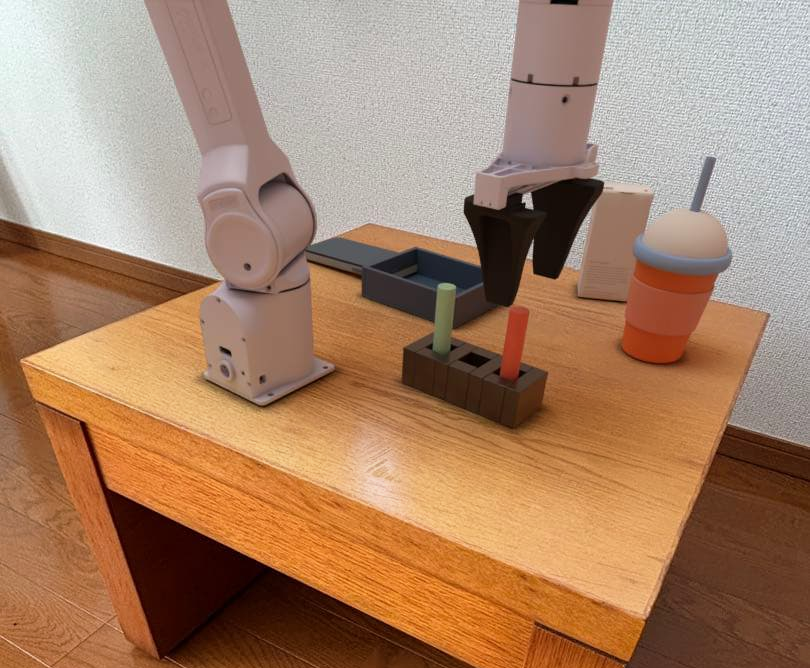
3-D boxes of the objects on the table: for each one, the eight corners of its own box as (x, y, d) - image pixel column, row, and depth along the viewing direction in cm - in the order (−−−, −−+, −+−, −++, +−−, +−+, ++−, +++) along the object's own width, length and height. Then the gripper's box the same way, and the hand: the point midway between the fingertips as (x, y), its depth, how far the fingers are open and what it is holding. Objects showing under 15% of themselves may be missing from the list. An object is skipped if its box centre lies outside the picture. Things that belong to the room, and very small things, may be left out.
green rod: (440, 387, 61) (449, 291, 55) (426, 382, 62) (433, 286, 56) (450, 381, 62) (459, 286, 56) (436, 376, 63) (444, 281, 57)
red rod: (506, 414, 58) (523, 315, 52) (491, 408, 59) (506, 309, 53) (515, 407, 59) (533, 309, 53) (500, 401, 59) (516, 304, 54)
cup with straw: (700, 376, 65) (777, 174, 53) (608, 364, 66) (662, 163, 54) (689, 338, 72) (755, 152, 60) (605, 328, 73) (653, 142, 61)
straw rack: (541, 407, 59) (548, 371, 57) (513, 429, 56) (519, 392, 54) (432, 364, 64) (435, 330, 62) (401, 382, 61) (403, 347, 59)
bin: (502, 302, 77) (506, 273, 75) (453, 329, 71) (456, 297, 69) (413, 274, 83) (415, 246, 81) (361, 296, 77) (361, 266, 74)
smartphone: (337, 235, 89) (426, 258, 82) (337, 248, 90) (425, 272, 83) (297, 247, 84) (389, 273, 77) (298, 261, 85) (388, 287, 79)
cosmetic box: (623, 290, 82) (652, 183, 74) (627, 304, 79) (657, 193, 71) (574, 285, 83) (597, 178, 75) (575, 298, 79) (599, 188, 71)
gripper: (558, 98, 37) (523, 331, 46) (653, 78, 46) (607, 276, 55) (454, 85, 40) (440, 305, 49) (561, 68, 49) (533, 257, 58)
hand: (523, 288), depth 52 cm, fingers open, 7 cm apart
